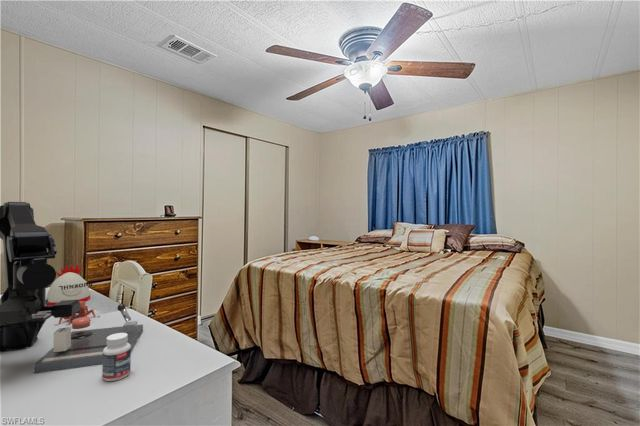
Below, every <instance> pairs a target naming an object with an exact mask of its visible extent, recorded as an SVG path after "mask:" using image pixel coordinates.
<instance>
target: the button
mask: <svg viewBox="0 0 640 426" xmlns="http://www.w3.org/2000/svg"><path fill="white" fill-rule="evenodd" d="M90 320H91V317H90V316H87V317H85V316H84V317H81V316H79V317H77V318H74V319H71V330H72V329H73V330H80V329H82V330H83V329H85V328H88V327H90V326H91V321H90Z"/></svg>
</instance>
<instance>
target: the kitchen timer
mask: <svg viewBox="0 0 640 426" xmlns="http://www.w3.org/2000/svg"><path fill="white" fill-rule="evenodd" d="M78 266H79V265H78V263H77V264H76V265H75V267H74V268H73V265H72V264H70V266H68V265H67V264H66V265H65V268H64V269H63V268H62V267H61V268H60V270H61V273H59V272H58V271H56V270H55V271H56V276H58V277H57V278H55V280H54V281H53V283H52V284H50V287H49V290H48V292H47V294H46V299H48V304H46V306H50V305H55V304H57V303H58V302H60V301H64V300H78V301H85V302H87V301H89V300H91V291H90V289H89V285H88V286H86V284H85V287H84V283H87V284H88V281H87V280H86V279H84V278H83V276H81V275H80V273H81V271H82V270H83V269H82V268H83V267H82V266H80V267H78ZM81 283H82V284H83V287H79V284H81ZM74 284H76V285H77V284H78V288H77V287H76V288H74V287H75V285H74ZM82 284H81V285H80V286H82ZM67 285H68V289H67V288H65V289H64V286H65V287H67ZM69 285H71V286H72V285H73V288H71V289H69ZM59 286H63V290H61V287H59Z"/></svg>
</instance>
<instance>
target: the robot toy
mask: <svg viewBox="0 0 640 426" xmlns="http://www.w3.org/2000/svg"><path fill="white" fill-rule="evenodd" d="M81 284H82V283H81ZM81 284H79V287H83V284H82V286H80V285H81ZM85 284H86V286H88V287H92V286H93V280H90V281H89V280H88V282H87V283H84V287H85ZM74 285H75V287H74V288H76V287H77V288H78V284H77V285H76V284H74ZM59 287H61V290H63V286H59ZM65 288H67V289H68V285H67V287H65V286H64V289H65ZM71 288H73V285H72V286H71V285H69V289H71ZM79 302H80V310H79V311H78V312H76V313H75V314H74V315H72V316H69V317H60V318H59V321H58V324H53V326H58V325H60V324H61V323H62V320H63V319H64V320H68V323H67V324H65V326H70V325H71V324H72V320H74V319H76V318H75V317H76V316H77V314H78V316H79V317H88V316H89V315H90V314H92V316H93V317H94V318H100V315H98V316H96V314H95V312H94V308H93V309H89V308H88V305H87V306H86V301H79ZM91 321H92V319H90V322H91Z"/></svg>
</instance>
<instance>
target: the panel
mask: <svg viewBox="0 0 640 426" xmlns="http://www.w3.org/2000/svg"><path fill="white" fill-rule="evenodd" d="M143 331H144V324H138V320H131V321H127V322H126V321H125V323H124V324H123V325H122V326H112V327H105V328H104V327H103V328H102V327H101V328H95V329H94V328H93V329H84V330H83V329H82V330H74V331H72V330H71V346H70V347H69V348H68V349H67V350H66V351H61V352H54V347H53V348H52V349H50V350H49V351H48V352H47V353H45V354H44V355H43V356H42V357H41V358H39V359H38V361H36V362H35V363H34V364H33V374H38V373H44V372H53V371H60V370H67V369H68V370H69V369H74V368H82V367H89V366H97V365H103V350H104V348H105V347H107V346H108V345H107V343H106V341H107V337H108V336H110V335H112V334H116V333H127V334H128V341H127V343H129V344H130V346H131V351H133V348H134V347H135V345H136V344H137V341H138V340H139V339H140V337H141V334H142V333H143ZM37 372H38V373H37Z"/></svg>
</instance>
